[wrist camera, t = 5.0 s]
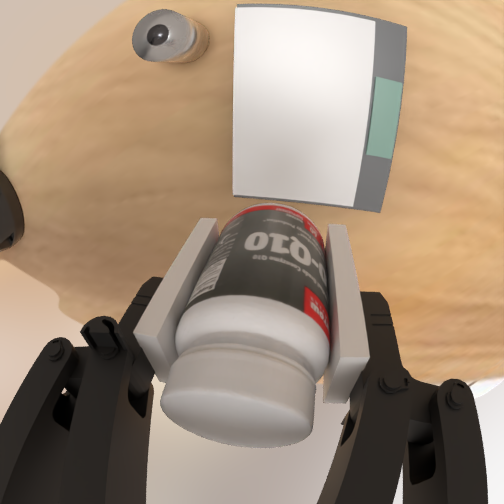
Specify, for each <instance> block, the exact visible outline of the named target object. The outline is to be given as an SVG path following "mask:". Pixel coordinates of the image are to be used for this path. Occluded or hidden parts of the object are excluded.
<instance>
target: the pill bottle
mask: <svg viewBox="0 0 504 504" xmlns="http://www.w3.org/2000/svg"><path fill="white" fill-rule="evenodd" d="M175 345H176V350H177V354H178V356H179V357H178V359H177V360H176V361H175V362H174V363H173V365H172V366H171V368H170V372H169V376H168V379H167V382H166V385H165V388H164V390H163V394H162V396H161V400H160V405H161V408H162V410H163V412H164V413H165V414H166V415H167V417H168V418H169V419H171V420H172V421H173V422H174V423H176V424H177V425H179V426H180V427H182V428H184V429H186V430H187V431H190V432H192V433H194V434H196V435H198V436H201V437H203V438H206V439H209V440H212V441H216V442H220V443H224V444H228V445H234V446H240V447H250V448H274V447H282V446H288V445H291V444H295V443H298V442H300V441H302V440H304V439H305V438H307V437H308V436H309V435H310V433H311V432H312V428H313V420H314V404H315V402H314V401H315V393H316V383H317V382H318V381H319V380H320V378H321V377H322V376H323V374H324V372H325V370H326V368H327V365H328V362H329V354H330V333H329V310H328V289H327V276H326V262H325V248H324V243H323V239H322V236H321V234H320V232H319V230H318V228H317V227H316V225H315V224H314V223H313V222H312V221H311V220H310V219H309V218H308V217H307V216H306V215H305V214H303V213H302V212H300V211H299V210H297V209H295V208H293V207H290V206H287V205H283V204H278V203H261V204H256V205H253V206H250V207H247V208H245V209H243V210H242V211H240V212H239V213H237V214H236V215H235V216H233V217H232V218H231V219H230V220H229V221H228V223H227V224H226V226H225V227H224V229H223V230H222V232H221V234H220V236H219V238H218V241H217V243H216V245H215V247H214V249H213V251H212V253H211V255H210V257H209V259H208V261H207V264H206V266H205V268H204V270H203V272H202V274H201V276H200V278H199V280H198V282H197V284H196V286H195V289H194V291H193V293H192V295H191V297H190V299H189V302H188V304H187V306H186V308H185V310H184V312H183V314H182V316H181V319H180V322H179V324H178V327H177V330H176V335H175Z"/></svg>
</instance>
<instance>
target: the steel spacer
mask: <svg viewBox="0 0 504 504" xmlns="http://www.w3.org/2000/svg"><path fill="white" fill-rule="evenodd" d="M132 44H133V48H134V50H135V52H136V54H137V55H138V56H139V57H141V58H142V59H144V60H147V61H153V62H180V63H187V62H191V61H194V60H196V59H198V58H199V57H200V56H202V55H203V53H204V52H205V51H206V49H207V47H208V44H209V34H208V31H207V29H206V28H205V27H204V26H203V25H202V24H200V23H198V22H196V21H194V20H192V19H190V18H188V17H186V16H183V15H181V14H179V13H177V12H174V11H172V10H167V9H161V10H156V11H153V12H151V13H149V14H147V15H146V16H145V17H143V18H142V19H141V20H140V21H139V23H138V24H137V26H136V27H135V30H134V32H133V36H132Z"/></svg>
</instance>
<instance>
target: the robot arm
mask: <svg viewBox="0 0 504 504" xmlns="http://www.w3.org/2000/svg"><path fill="white" fill-rule="evenodd" d="M23 230H24V222H23V215H22V210H21V207H20V204H19V201H18V198H17V196H16V193H15V191H14V189H13V187H12V186H11V184H10V182H9V181H8V179H7V178H6V177H5V175H4V174H3V173H2V172H1V171H0V252H1V251H3V250H6V249H8V248H10V247H12V246H13V245H14V244H16V243H17V242H18V241H19V240H20V239H21V237H22V235H23ZM218 238H219V230H218V221H217V218H200V220H199V221H198V223H197V225H196V226H195V228H194V229H193V231H192V232H191V234H190V236H189V237H188V239H187V240H186V242H185V244H184V245H183V247H182V249H181V250H180V252H179V253H178V255H177V257H176V258H175V260H174V262H173V263H172V265H171V267H170V268H169V270H168V272H167V273H166V275H165V277H164V278H160V277H152V278H150V279H149V280H148V281H147V282H145V283H144V284H143V285H142V286H141V288H140V290H139V291H138V293H137V294H136V297H135V298H134V299H133V301H132V302H131V303H132V304H131V305H130V306H129V307H128V309H127V311H126V312H125V314H124V316H123V317H122V319H121V321H120V322H119V324H117V322H116V320H114V319H113V318H111V317H108V316H100V317H96V318H94V319H92V320H90V321H89V322H87V323H86V324H85V325H84V326H83V328H82V330H81V331H80V333H81V334H82V336H83V337H84V339H85V340H86V342H87V343H88V345H89V346H87V347H73V345H72V344H71V342H70V341H69V340H68V339H66V338H62V337H59V338H55V339H53V340H51V341H50V342H48V343H47V345H46V346H45V347H44V348H43V350H42V352H41V353H40V355H39V356H38V358H37V359H36V361H35V362H34V364H33V366H32V367H31V369H30V371H29V372H28V374H27V376H26V377H25V379H24V381H23V383H22V384H21V386H20V388H19V390H18V391H17V393H16V395H15V397H14V399H13V401H12V402H11V404H10V406H9V408H8V410H7V412H6V414H5V416H4V418H3V420H2V422H1V424H0V504H146V481H147V462H148V446H149V435H150V424H151V413H152V404H153V395H154V388H153V385H152V383H151V381H152V379H153V377H154V374H155V375H156V376H157V378H158V380H159V381H160V382H164V383H166V382H167V379H168V376H169V372H170V368H171V366H172V365H173V363H174V362H175V361H176V360H177V359H178V357H179V356H178V354H177V350H176V345H175V335H176V330H177V327H178V324H179V322H180V319H181V316H182V314H183V312H184V310H185V308H186V306H187V304H188V302H189V299H190V297H191V295H192V293H193V291H194V289H195V286H196V284H197V282H198V280H199V278H200V276H201V274H202V272H203V270H204V268H205V266H206V264H207V261H208V259H209V257H210V255H211V253H212V251H213V249H214V247H215V245H216V243H217V241H218ZM325 262H326V276H327V289H328V310H329V333H330V354H329V362H328V365H327V368H326V370H325V372H324V385H323V403H346V402H347V401H348V399H349V397H350V410H349V412H348V413H347V414H346V416H345V418H344V419H343V421H342V423H341V424H342V425H344V426H343V429H342V433H341V437H340V440H339V443H338V446H337V450H336V453H335V456H334V459H333V462H332V465H331V468H330V470H329V473H328V476H327V479H326V482H325V484H324V487H323V490H322V493H321V495H320V497H319V500H318V502H317V504H393V500H394V496H395V493H396V489H397V485H398V481H399V477H400V472H401V468H402V463H403V504H488V489H487V474H486V465H485V455H484V449H483V441H482V435H481V430H480V424H479V419H478V414H477V410H476V405H475V401H474V397H473V394H472V391H471V389H470V387H469V386H468V385H467V384H466V383H465V382H463V381H461V380H459V379H449V380H446V381H445V382H444V383H443V384H442V385H440V386H436V385H432V384H428V383H424V382H420V381H418V380H415V379H414V378H412V377H411V375H410V374H409V372H408V371H407V370H406V369H405V368H404V367H403V366H402V363H401V359H400V354H399V349H398V344H397V339H396V335H395V330H394V326H393V322H392V317H391V313H390V309H389V305H388V302H387V301H386V300H385V298H384V297H383V296H382V294H381V293H380V292H360V290H359V284H358V279H357V274H356V269H355V264H354V260H353V255H352V250H351V246H350V242H349V237H348V233H347V229H346V225H339V224H328V229H327V237H326V246H325ZM64 388H65V389H66V390H67V391H66V393H64V394H62V391H63V389H64Z"/></svg>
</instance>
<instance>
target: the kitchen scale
mask: <svg viewBox="0 0 504 504" xmlns="http://www.w3.org/2000/svg"><path fill="white" fill-rule="evenodd" d="M406 43H407V27H406V26H403V25H399V24H396V23H392V22H389V21H385V20H381V19H377V18H373V17H369V16H365V15H360V14H355V13H350V12H344V11H339V10H332V9H325V8H318V7H309V6H298V5H283V4H237V8H235V36H234V79H233V195H234V197H242V198H255V199H266V200H277V201H288V202H298V203H307V204H316V205H325V206H333V207H341V208H349V209H357V210H364V211H371V212H378V213H380V211H381V207H382V203H383V199H384V195H385V191H386V186H387V182H388V177H389V173H390V168H391V163H392V158H393V152H394V147H395V141H396V136H397V129H398V123H399V116H400V109H401V101H402V93H403V84H404V73H405V61H406Z"/></svg>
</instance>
